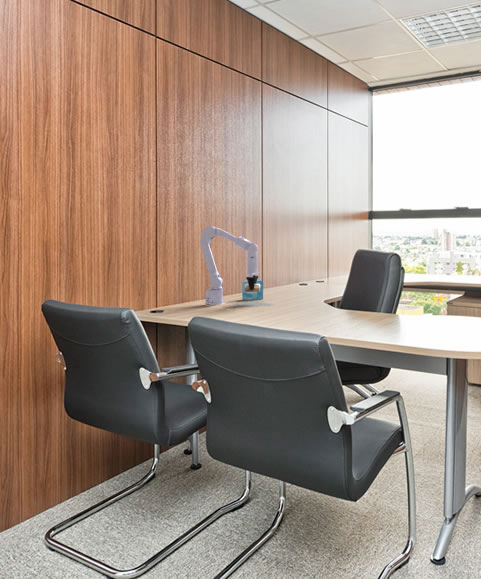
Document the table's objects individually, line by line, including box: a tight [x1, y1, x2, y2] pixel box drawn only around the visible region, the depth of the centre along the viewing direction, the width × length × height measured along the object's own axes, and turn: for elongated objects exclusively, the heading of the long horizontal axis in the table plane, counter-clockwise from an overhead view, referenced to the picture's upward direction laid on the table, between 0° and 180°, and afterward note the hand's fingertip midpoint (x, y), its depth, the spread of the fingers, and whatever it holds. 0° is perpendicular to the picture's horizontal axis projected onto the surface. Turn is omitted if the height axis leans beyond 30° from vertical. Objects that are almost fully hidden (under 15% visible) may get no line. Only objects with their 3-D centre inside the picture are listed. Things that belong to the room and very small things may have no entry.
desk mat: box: [233, 301, 274, 308], centre depth 307 cm, size 18×17×1 cm
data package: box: [241, 279, 264, 301], centre depth 328 cm, size 12×4×12 cm, turn 120°
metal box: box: [245, 284, 260, 292], centre depth 307 cm, size 8×5×4 cm, turn 80°
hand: (252, 289), depth 307 cm, fingers closed on metal box, 5 cm apart
